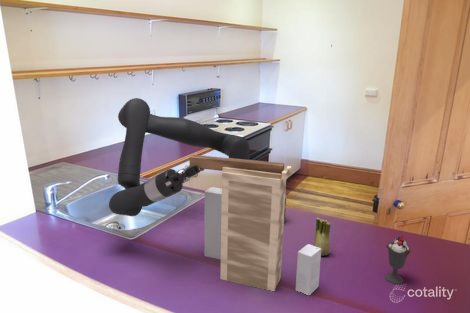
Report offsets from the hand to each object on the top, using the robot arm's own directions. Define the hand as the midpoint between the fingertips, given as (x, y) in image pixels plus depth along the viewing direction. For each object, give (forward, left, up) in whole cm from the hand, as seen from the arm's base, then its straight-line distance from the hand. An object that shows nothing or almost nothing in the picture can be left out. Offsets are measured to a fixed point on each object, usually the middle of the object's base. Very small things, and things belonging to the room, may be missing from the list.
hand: (205, 164), depth 100 cm
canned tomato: (-43, +11, -33) cm, 55 cm away
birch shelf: (0, +15, -32) cm, 36 cm away
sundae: (-17, +54, -33) cm, 65 cm away
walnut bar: (0, +9, 0) cm, 9 cm away
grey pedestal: (-9, +1, -32) cm, 34 cm away
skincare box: (-2, +31, -33) cm, 45 cm away
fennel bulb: (-24, +32, -33) cm, 51 cm away
